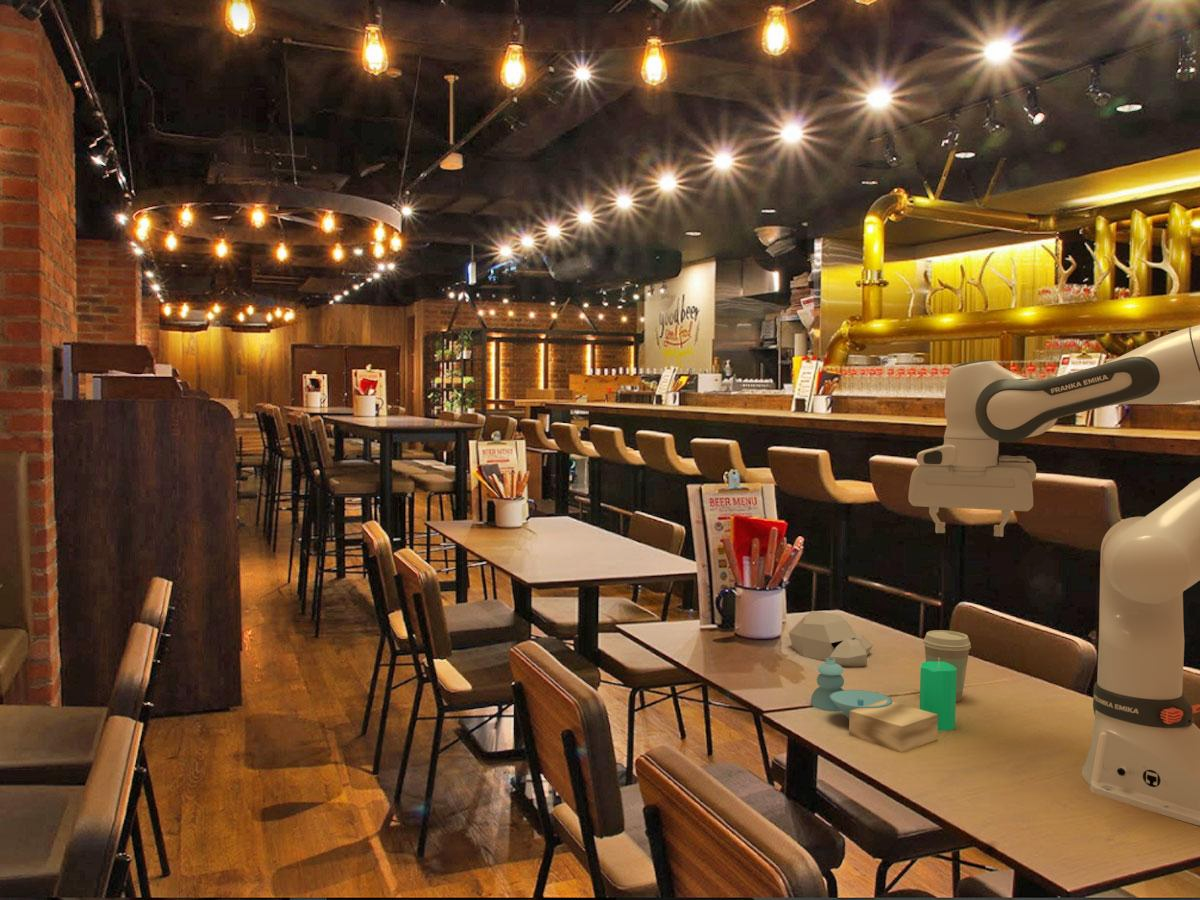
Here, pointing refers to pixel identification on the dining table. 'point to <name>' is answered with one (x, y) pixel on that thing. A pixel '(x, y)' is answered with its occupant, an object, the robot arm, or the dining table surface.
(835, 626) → the rock
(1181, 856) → the dining table surface
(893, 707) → the beech box
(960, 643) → the coffee cup
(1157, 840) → the dining table surface
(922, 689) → the candle
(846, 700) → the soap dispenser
